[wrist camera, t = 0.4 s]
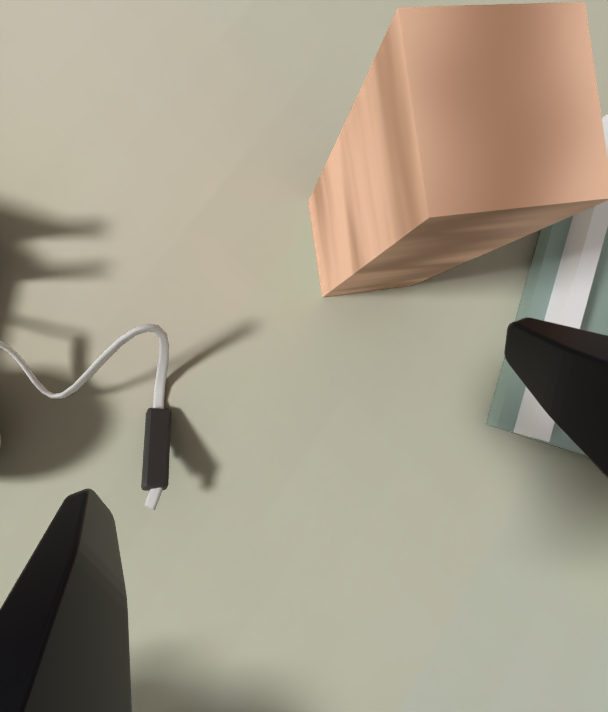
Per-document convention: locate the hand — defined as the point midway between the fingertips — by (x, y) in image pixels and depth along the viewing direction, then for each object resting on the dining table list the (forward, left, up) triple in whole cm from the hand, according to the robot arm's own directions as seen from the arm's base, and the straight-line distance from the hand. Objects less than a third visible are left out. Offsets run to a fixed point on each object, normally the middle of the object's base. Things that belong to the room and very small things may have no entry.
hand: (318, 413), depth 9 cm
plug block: (0, -9, -14) cm, 17 cm away
